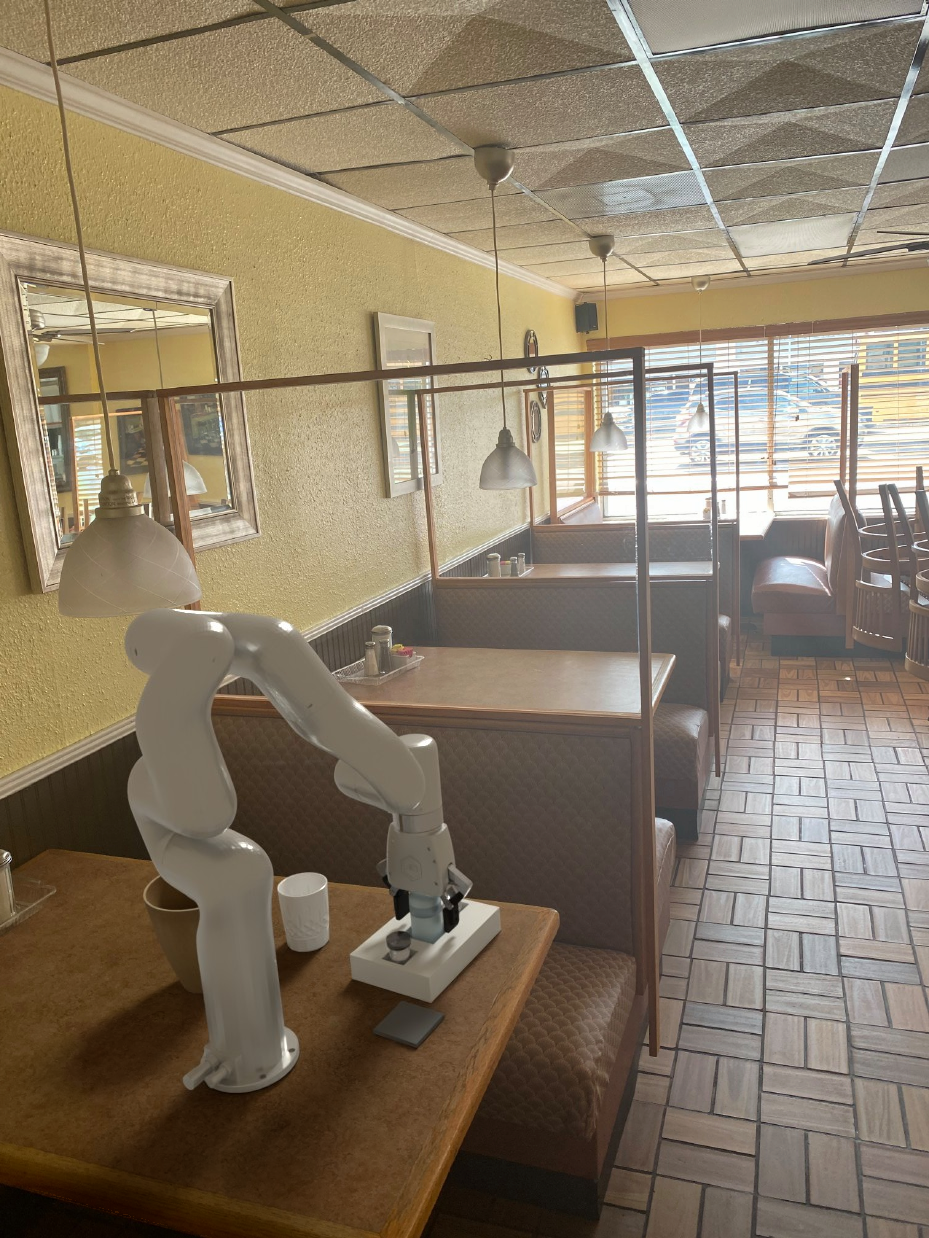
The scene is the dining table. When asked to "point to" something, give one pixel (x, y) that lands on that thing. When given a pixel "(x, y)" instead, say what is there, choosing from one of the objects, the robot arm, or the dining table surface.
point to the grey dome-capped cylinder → (399, 947)
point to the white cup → (305, 911)
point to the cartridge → (425, 917)
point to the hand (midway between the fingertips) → (427, 921)
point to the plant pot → (175, 930)
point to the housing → (426, 953)
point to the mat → (409, 1024)
